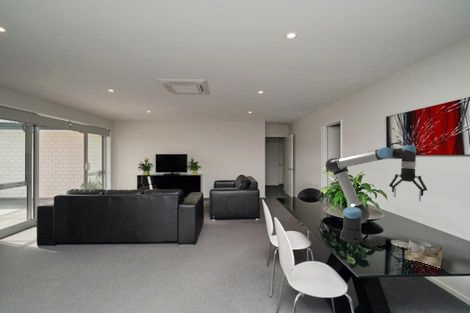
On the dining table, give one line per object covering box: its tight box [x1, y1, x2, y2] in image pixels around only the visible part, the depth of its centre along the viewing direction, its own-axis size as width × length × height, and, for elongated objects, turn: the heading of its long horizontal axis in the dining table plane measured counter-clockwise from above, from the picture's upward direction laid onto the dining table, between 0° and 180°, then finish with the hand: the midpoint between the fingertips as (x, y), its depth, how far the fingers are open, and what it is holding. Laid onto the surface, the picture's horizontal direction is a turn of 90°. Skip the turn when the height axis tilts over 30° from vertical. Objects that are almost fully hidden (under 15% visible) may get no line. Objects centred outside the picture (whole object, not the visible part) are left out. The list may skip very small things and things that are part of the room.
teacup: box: [408, 238, 432, 256], centre depth 135 cm, size 14×11×8 cm
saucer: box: [390, 239, 409, 249], centre depth 154 cm, size 12×12×2 cm
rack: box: [404, 241, 443, 269], centre depth 134 cm, size 16×19×8 cm
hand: (406, 198), depth 147 cm, fingers open, 13 cm apart
